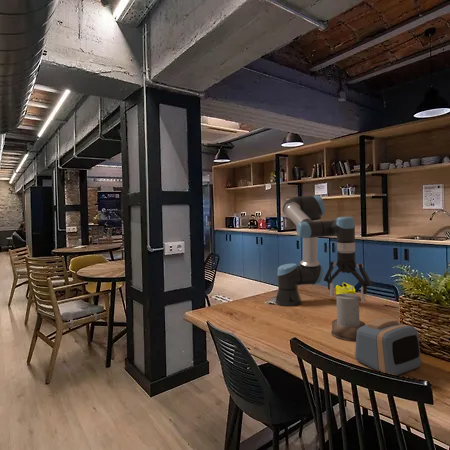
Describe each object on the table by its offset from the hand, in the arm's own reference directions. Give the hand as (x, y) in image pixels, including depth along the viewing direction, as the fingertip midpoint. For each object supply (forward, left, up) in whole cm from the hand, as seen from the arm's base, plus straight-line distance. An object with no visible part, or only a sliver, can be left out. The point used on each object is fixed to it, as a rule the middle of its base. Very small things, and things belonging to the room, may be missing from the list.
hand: (347, 298), depth 147 cm
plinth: (0, 0, -16) cm, 16 cm away
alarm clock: (+20, -21, -16) cm, 34 cm away
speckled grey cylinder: (0, 0, -11) cm, 11 cm away
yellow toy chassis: (-20, +58, -16) cm, 64 cm away
